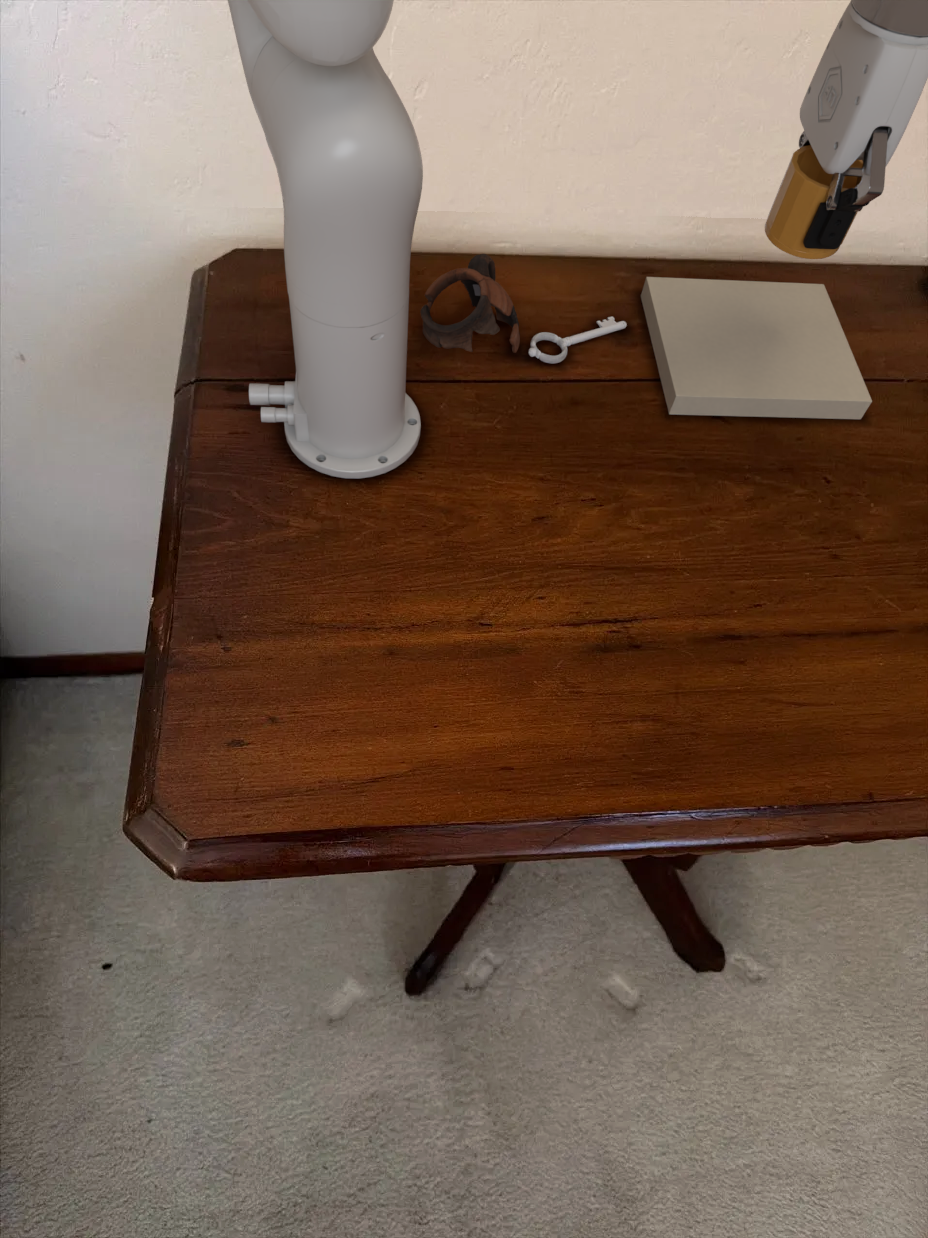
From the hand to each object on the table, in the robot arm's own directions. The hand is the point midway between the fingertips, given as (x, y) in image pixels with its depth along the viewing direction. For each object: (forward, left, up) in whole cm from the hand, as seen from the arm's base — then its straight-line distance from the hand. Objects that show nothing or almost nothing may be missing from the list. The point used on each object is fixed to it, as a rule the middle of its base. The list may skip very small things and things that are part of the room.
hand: (809, 218), depth 79 cm
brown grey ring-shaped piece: (-29, +2, -16) cm, 33 cm away
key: (-18, +1, -16) cm, 24 cm away
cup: (0, 0, -2) cm, 2 cm away
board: (0, 0, -16) cm, 16 cm away
